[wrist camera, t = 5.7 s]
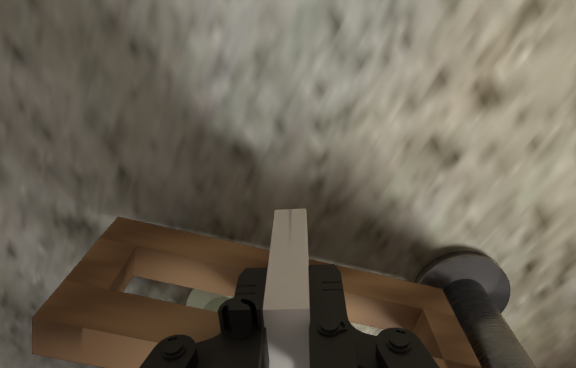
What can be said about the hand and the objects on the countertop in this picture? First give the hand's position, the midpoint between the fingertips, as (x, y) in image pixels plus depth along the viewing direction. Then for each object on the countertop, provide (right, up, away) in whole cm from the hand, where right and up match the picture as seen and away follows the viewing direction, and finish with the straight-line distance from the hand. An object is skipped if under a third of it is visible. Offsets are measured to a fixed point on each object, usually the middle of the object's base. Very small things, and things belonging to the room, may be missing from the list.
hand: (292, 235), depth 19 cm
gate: (-1, -2, +2) cm, 3 cm away
